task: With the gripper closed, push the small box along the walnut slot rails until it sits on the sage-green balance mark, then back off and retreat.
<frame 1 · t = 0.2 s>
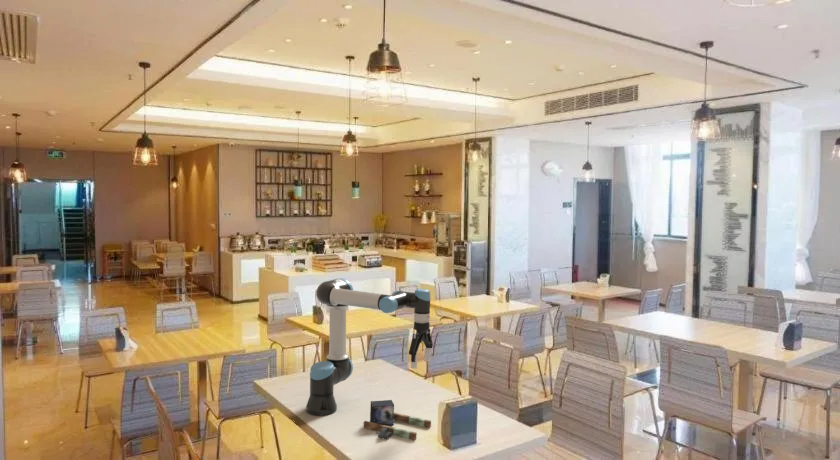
hand: (420, 364, 281), 28 cm above the table, fingers open, 13 cm apart
fulcrum: (384, 436, 262), on the table
small box: (381, 424, 277), on the table
beam slot: (397, 427, 273), on the table
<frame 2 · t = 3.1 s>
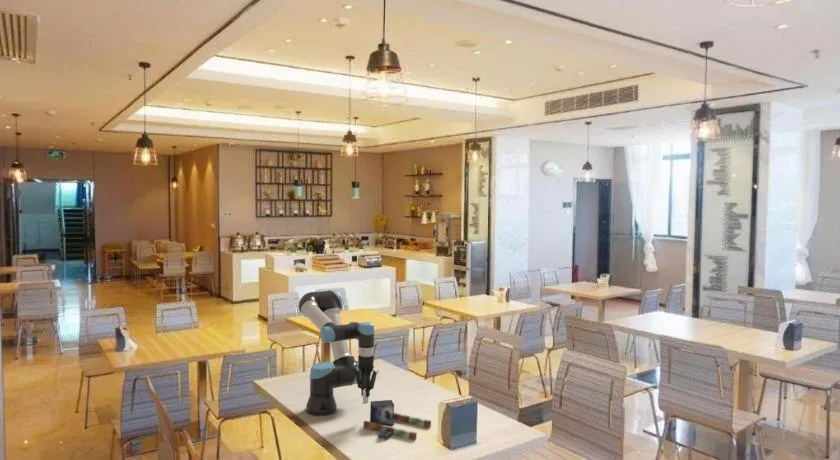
hand: (365, 402, 280), 9 cm above the table, fingers closed
nothing on the table moved.
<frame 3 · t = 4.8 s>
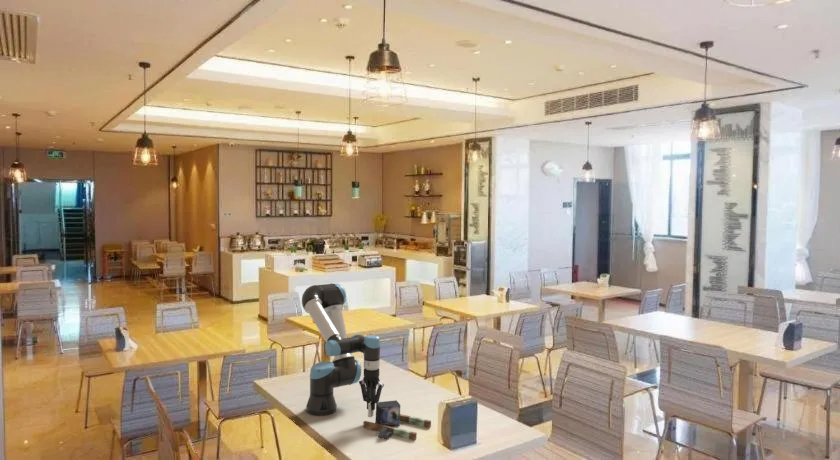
hand: (370, 416, 279), 3 cm above the table, fingers closed
small box: (387, 425, 276), on the table, touching hand
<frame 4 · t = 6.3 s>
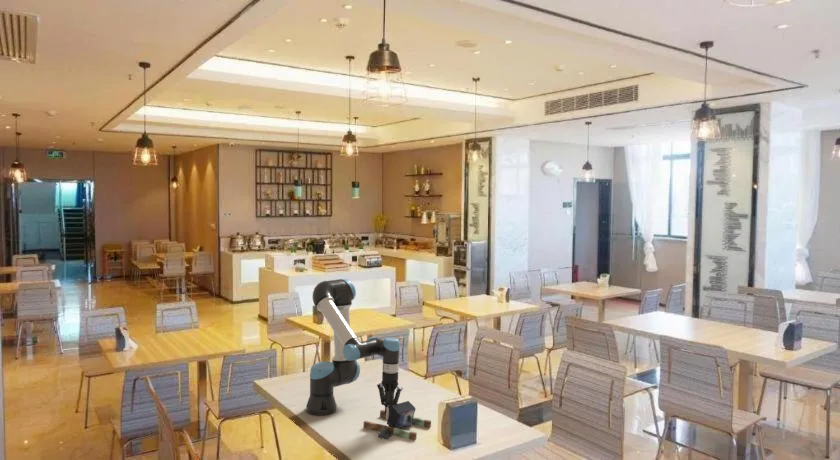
hand: (388, 420, 274), 3 cm above the table, fingers closed
small box: (398, 425, 274), point 1 cm above the table, touching gripper, hand
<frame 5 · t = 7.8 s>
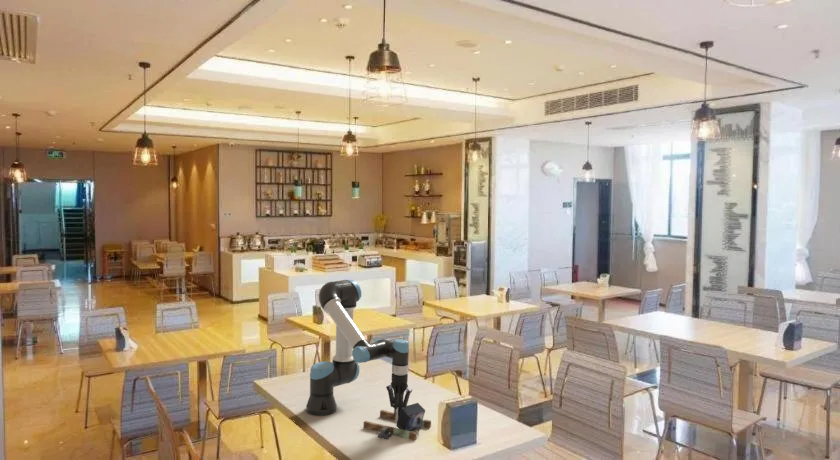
hand: (397, 422, 272), 3 cm above the table, fingers closed
small box: (408, 427, 272), point 1 cm above the table, touching gripper, hand
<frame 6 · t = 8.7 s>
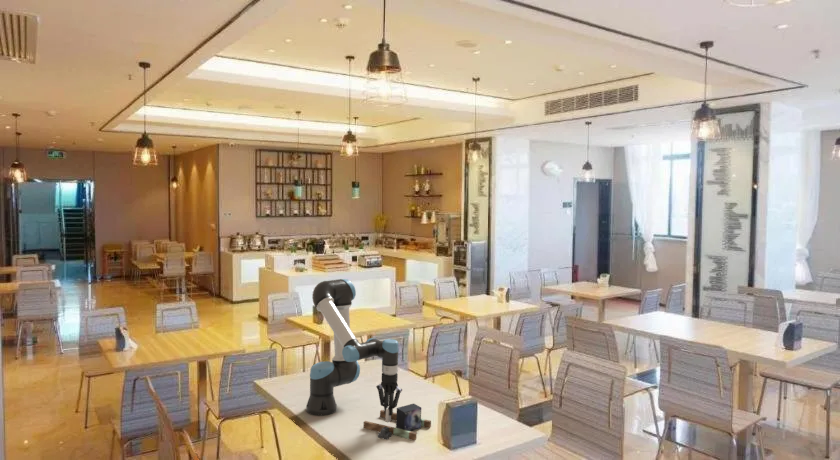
hand: (388, 421, 275), 2 cm above the table, fingers closed
small box: (408, 429, 272), on the table
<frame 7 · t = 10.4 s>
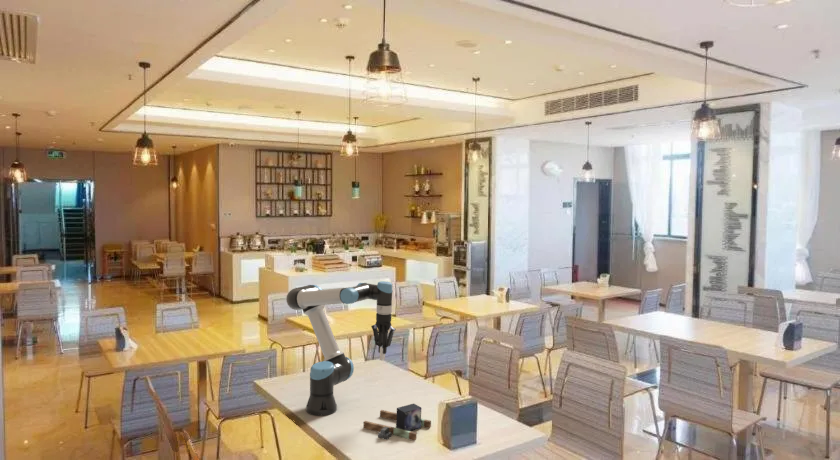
hand: (382, 359, 288), 27 cm above the table, fingers closed
nothing on the table moved.
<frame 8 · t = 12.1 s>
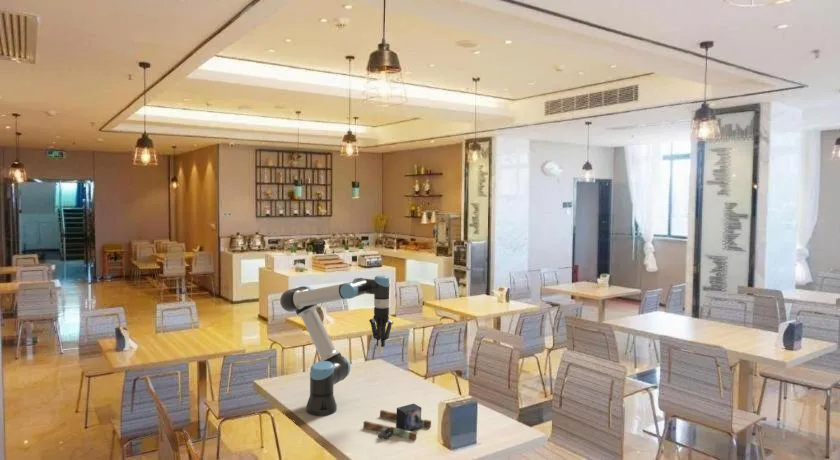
hand: (380, 352, 293), 29 cm above the table, fingers closed
nothing on the table moved.
at the end: small box inside the target area (2.3 cm from its centre), on the table; small box tilted 0° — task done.
